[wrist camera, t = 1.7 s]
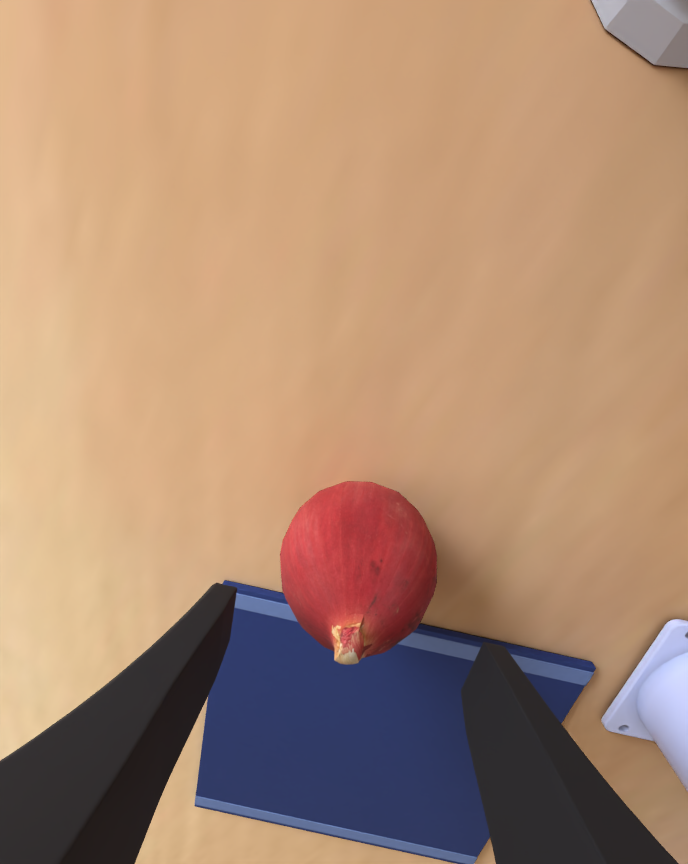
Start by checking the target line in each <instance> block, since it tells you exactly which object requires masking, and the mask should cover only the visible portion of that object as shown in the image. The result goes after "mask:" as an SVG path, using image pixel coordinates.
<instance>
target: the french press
mask: <svg viewBox="0 0 688 864" xmlns="http://www.w3.org/2000/svg"><path fill="white" fill-rule="evenodd" d="M592 3H593V5H594V7H595V9H596V11H597V13H598V15H599V17H600V19H601V22H602V24H603V26H604V28H605V29H606V30H607V31H609V32H610V33H611V34H613V35H614V36H615V37H617V38H618V39H620V40H621V41H622V42H624V43H625V44H626V45H628V46H629V47H631V48H632V49H633V50H635V51H636V52H637V53H639V54H640V55H641V56H643V57H644V58H646V59H647V60H648V61H650V62H651V63H652V64H654V65H661V66H672V67H682V68H688V0H592Z"/></svg>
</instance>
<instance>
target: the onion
mask: <svg viewBox="0 0 688 864" xmlns="http://www.w3.org/2000/svg"><path fill="white" fill-rule="evenodd" d="M280 561H281V578H282V589H283V593H284V595H285V598H286V600H287V602H288V604H289V606H290V608H291V610H292V612H293V614H294V615H295V617H296V619H297V621H298V623H299V624H300V625H301V627H302V628H303V629H304V630H305V631H306V632H307V633H309V634H310V635H311V636H312V637H313V638H314V639H315V640H316V641H318V642H319V643H320V644H321V645H322V646H323V647H325V648H327V649H330V650H332V651H334V660H335V661H336V662H338V663H340V664H346V665H349V664H357V663H358V662H359V661H360V660H361V658H365V657H369V656H373V655H377V654H381V653H384V652H386V651H388V650H390V649H391V648H392V647H394V646H395V645H396V644H398V643H399V642H400V641H402V640H403V639H404V638H406V637H407V636H408V635H410V634H411V633H412V632H413V631H414V630H416V628H417V627H418V625H419V623H420V622H421V620H422V618H423V615H424V613H425V611H426V609H427V607H428V605H429V603H430V601H431V599H432V597H433V595H434V591H435V587H436V584H437V554H436V549H435V544H434V541H433V539H432V536H431V534H430V532H429V530H428V528H427V526H426V523H425V521H424V519H423V517H422V516H421V515H420V513H419V512H418V510H417V509H416V508H415V507H414V506H413V505H412V504H411V503H409V502H408V501H407V500H406V499H405V498H404V497H403V496H402V495H401V494H400V493H399V492H397V491H394V490H391V489H389V488H386V487H383V486H381V485H378V484H375V483H372V482H355V481H347V482H343V483H340V484H338V485H335V486H332V487H329V488H326V489H324V490H321V491H319V492H317V493H316V494H315V495H314V496H313V497H312V498H311V499H309V500H308V501H307V502H306V503H305V504H304V505H303V506H302V507H300V509H299V510H298V512H297V513H296V515H295V517H294V518H293V520H292V522H291V524H290V526H289V528H288V531H287V533H286V535H285V537H284V539H283V543H282V548H281V553H280Z"/></svg>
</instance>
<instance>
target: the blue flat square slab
mask: <svg viewBox="0 0 688 864" xmlns="http://www.w3.org/2000/svg"><path fill="white" fill-rule="evenodd" d="M223 585H228V586H233V587H237V593H236V600H235V607H234V614H233V621H232V629H231V636H230V641H229V644H228V647H227V649H226V652H225V655H224V658H223V661H222V663H221V666H220V669H219V671H218V674H217V677H216V679H215V682H214V684H213V686H212V688H211V690H210V692H209V694H208V702H207V710H206V718H205V726H204V735H203V743H202V751H201V759H200V767H199V775H198V783H197V791H196V798H195V806H196V807H201V808H205V809H210V810H215V811H219V812H224V813H228V814H233V815H237V816H242V817H247V818H251V819H256V820H260V821H265V822H269V823H274V824H279V825H283V826H288V827H292V828H297V829H301V830H306V831H311V832H315V833H320V834H324V835H329V836H333V837H338V838H343V839H347V840H352V841H356V842H361V843H365V844H370V845H375V846H379V847H384V848H388V849H393V850H397V851H402V852H407V853H411V854H416V855H420V856H425V857H429V858H434V859H439V860H443V861H448V862H452V863H457V864H474V863H475V861H476V859H477V857H478V855H479V854H480V852H481V850H482V849H483V847H484V846H485V844H486V843H487V841H488V839H489V838H490V833H489V829H488V825H487V821H486V816H485V812H484V808H483V804H482V800H481V795H480V791H479V787H478V783H477V779H476V774H475V770H474V766H473V761H472V757H471V753H470V748H469V744H468V740H467V735H466V729H465V721H464V714H463V706H462V697H461V689H462V687H463V685H464V682H465V680H466V678H467V676H468V674H469V672H470V670H471V667H472V665H473V663H474V661H475V659H476V657H477V655H478V652H479V650H480V648H481V646H482V644H483V642H487V643H492V644H496V645H501V646H504V647H505V648H506V649H507V650H508V652H509V653H510V654H511V656H512V657H513V659H514V660H515V661H516V663H517V664H518V665H519V667H520V668H521V670H522V671H523V672H524V674H525V675H526V676H527V678H528V679H529V681H530V682H531V683H532V685H533V686H534V688H535V689H536V690H537V692H538V693H539V694H540V696H541V697H542V699H543V700H544V701H545V703H546V704H547V705H548V707H549V708H550V710H551V711H552V712H553V714H554V715H555V716H556V718H557V719H558V720H559V722H560V723H562V722H563V720H564V719H565V717H566V715H567V714H568V712H569V711H570V709H571V707H572V706H573V704H574V703H575V701H576V699H577V698H578V696H579V695H580V693H581V692H582V690H583V688H584V687H585V686H586V685H587V683H588V682H589V680H590V679H591V677H592V675H593V674H594V673H593V672H594V671H595V669H596V668H595V666H594V664H593V663H592V662H590V661H586V660H581V659H577V658H572V657H568V656H563V655H559V654H554V653H550V652H545V651H541V650H536V649H532V648H527V647H523V646H518V645H514V644H509V643H505V642H500V641H496V640H491V639H487V638H482V637H478V636H473V635H469V634H464V633H460V632H455V631H451V630H446V629H442V628H437V627H433V626H429V625H424V624H420V623H419V625H418V627H417V628H416V630H414V631H413V632H412V633H411V634H410V635H408V636H407V637H406V638H404V639H403V640H402V641H400V642H399V643H398V644H396V645H395V646H394V647H392V648H391V649H390V650H388V651H386V652H384V653H381V654H377V655H373V656H369V657H365V658H361V660H360V661H359V662H358V663H357V664H349V665H346V664H340V663H338V662H336V661H335V660H334V651H332V650H330V649H327V648H325V647H323V646H322V645H321V644H320V643H319V642H318V641H316V640H315V639H314V638H313V637H312V636H311V635H310V634H309V633H307V632H306V631H305V630H304V629H303V628H302V627H301V625H300V624H299V623H298V621H297V619H296V617H295V615H294V614H293V612H292V610H291V608H290V606H289V604H288V602H287V600H286V598H285V595H284V593H280V592H276V591H271V590H267V589H262V588H258V587H253V586H249V585H244V584H240V583H235V582H231V581H226V580H225V581H224V582H223Z"/></svg>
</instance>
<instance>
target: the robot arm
mask: <svg viewBox="0 0 688 864" xmlns="http://www.w3.org/2000/svg"><path fill="white" fill-rule="evenodd" d="M236 593H237V587H233V586H228V585H223V584H219V583H216V584H214V585H212V586H211V587H210V588H209V589H208V591H207V592H206V593H205V594H204V595H203V596H202V597H201V598H200V599H199V600H198V601H197V602H196V604H195V605H194V606H193V607H192V608H191V609H190V610H189V611H188V612H187V613H186V614H185V615H184V616H183V617H182V618H181V619H180V620H179V621H178V622H177V623H176V624H175V625H173V626H172V627H171V628H170V629H169V630H168V631H167V632H166V633H165V634H164V635H163V636H162V637H161V638H160V639H159V640H158V641H156V642H155V643H154V644H153V645H152V646H151V647H150V648H149V649H148V650H146V651H145V652H144V653H143V654H142V655H141V656H140V657H138V658H137V659H136V660H135V661H134V662H133V663H131V664H130V665H129V666H128V667H127V668H126V669H124V670H123V671H122V672H121V673H120V674H119V675H117V676H116V677H115V678H114V679H112V680H111V681H110V682H109V683H108V684H106V685H105V686H104V687H103V688H101V689H100V690H99V691H97V692H96V693H95V694H94V695H92V696H91V697H90V698H88V699H87V700H86V701H84V702H83V703H82V704H81V705H79V706H78V707H77V708H75V709H74V710H73V711H71V712H70V713H69V714H67V715H66V716H64V717H63V718H62V719H60V720H59V721H57V722H56V723H55V724H53V725H52V726H50V727H49V728H48V729H46V730H45V731H43V732H42V733H41V734H39V735H38V736H36V737H35V738H34V739H32V740H31V741H29V742H28V743H26V744H25V745H23V746H22V747H20V748H19V749H17V750H16V751H14V752H13V753H12V754H10V755H9V756H7V757H5V758H4V759H2V760H1V761H0V864H135V861H136V858H137V856H138V853H139V851H140V848H141V846H142V843H143V841H144V838H145V835H146V833H147V830H148V828H149V825H150V823H151V820H152V818H153V815H154V812H155V810H156V807H157V805H158V802H159V800H160V798H161V795H162V793H163V791H164V788H165V786H166V784H167V782H168V779H169V777H170V775H171V773H172V771H173V768H174V766H175V764H176V762H177V760H178V758H179V756H180V754H181V752H182V749H183V747H184V745H185V743H186V741H187V739H188V737H189V735H190V733H191V730H192V728H193V726H194V724H195V722H196V720H197V718H198V716H199V714H200V711H201V709H202V707H203V705H204V703H205V701H206V699H207V697H208V694H209V692H210V690H211V688H212V686H213V684H214V682H215V679H216V677H217V674H218V671H219V669H220V666H221V663H222V661H223V658H224V655H225V652H226V649H227V647H228V644H229V641H230V636H231V629H232V621H233V614H234V607H235V600H236ZM461 697H462V706H463V714H464V721H465V729H466V735H467V740H468V744H469V748H470V753H471V757H472V761H473V766H474V770H475V774H476V779H477V783H478V787H479V791H480V795H481V800H482V804H483V808H484V812H485V816H486V821H487V825H488V829H489V833H490V838H491V842H492V846H493V851H494V856H495V861H496V864H678V863H677V862H676V860H675V859H674V858H673V857H672V856H671V855H670V854H669V853H668V852H667V851H666V850H665V849H664V847H663V846H662V845H661V844H660V843H659V842H658V841H657V840H656V839H655V837H654V836H653V835H652V834H651V833H650V832H649V831H648V829H647V828H646V827H645V826H644V825H643V824H642V823H641V821H640V820H639V819H638V818H637V817H636V816H635V815H634V814H633V812H632V811H631V810H630V809H629V808H628V807H627V806H626V804H625V803H624V802H623V801H622V800H621V798H620V797H619V796H618V795H617V794H616V793H615V791H614V790H613V789H612V788H611V787H610V785H609V784H608V783H607V782H606V780H605V779H604V778H603V777H602V775H601V774H600V773H599V772H598V770H597V769H596V768H595V767H594V765H593V764H592V763H591V762H590V761H589V759H588V758H587V757H586V756H585V754H584V753H583V752H582V750H581V749H580V748H579V747H578V745H577V744H576V743H575V741H574V740H573V739H572V738H571V736H570V735H569V734H568V732H567V731H566V730H565V728H564V727H563V726H562V724H561V723H560V722H559V720H558V719H557V718H556V716H555V715H554V714H553V712H552V711H551V710H550V708H549V707H548V705H547V704H546V703H545V701H544V700H543V699H542V697H541V696H540V694H539V693H538V692H537V690H536V689H535V688H534V686H533V685H532V683H531V682H530V681H529V679H528V678H527V676H526V675H525V674H524V672H523V671H522V670H521V668H520V667H519V665H518V664H517V663H516V661H515V660H514V659H513V657H512V656H511V654H510V653H509V652H508V650H507V649H506V648H505V647H504V646H501V645H496V644H492V643H487V642H483V644H482V646H481V648H480V650H479V652H478V655H477V657H476V659H475V661H474V663H473V665H472V667H471V670H470V672H469V674H468V676H467V678H466V680H465V682H464V685H463V687H462V689H461ZM601 721H602V724H603V725H604V727H605V729H606V730H608V731H610V732H615V733H619V734H624V735H628V736H633V737H637V738H642V739H646V740H651V741H655V742H656V744H657V746H658V747H659V749H660V750H661V752H662V753H663V755H664V756H665V758H666V759H667V761H668V762H669V764H670V766H671V767H672V769H673V770H674V772H675V773H676V775H677V776H678V778H679V779H680V781H681V782H682V784H683V785H684V787H685V789H686V790H687V792H688V621H686V620H681V619H673V620H670V621H669V622H667V623H666V624H665V626H664V627H663V629H662V630H661V632H660V633H659V635H658V636H657V638H656V639H655V641H654V642H653V644H652V645H651V646H650V648H649V649H648V651H647V652H646V654H645V655H644V657H643V658H642V660H641V661H640V663H639V664H638V666H637V667H636V668H635V670H634V671H633V673H632V674H631V676H630V677H629V679H628V680H627V682H626V683H625V685H624V686H623V688H622V689H621V691H620V692H619V693H618V695H617V696H616V698H615V699H614V701H613V702H612V704H611V705H610V707H609V708H608V710H607V711H606V713H605V714H604V715H603V717H602V720H601Z"/></svg>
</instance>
